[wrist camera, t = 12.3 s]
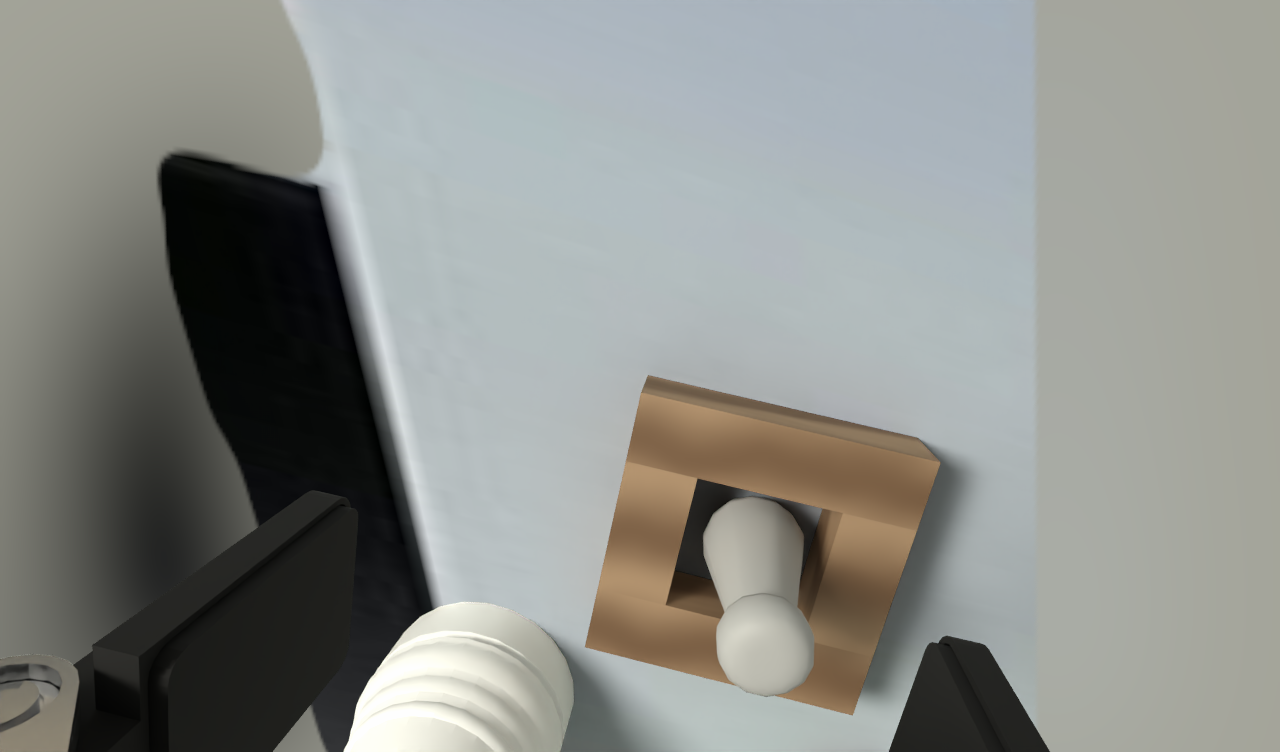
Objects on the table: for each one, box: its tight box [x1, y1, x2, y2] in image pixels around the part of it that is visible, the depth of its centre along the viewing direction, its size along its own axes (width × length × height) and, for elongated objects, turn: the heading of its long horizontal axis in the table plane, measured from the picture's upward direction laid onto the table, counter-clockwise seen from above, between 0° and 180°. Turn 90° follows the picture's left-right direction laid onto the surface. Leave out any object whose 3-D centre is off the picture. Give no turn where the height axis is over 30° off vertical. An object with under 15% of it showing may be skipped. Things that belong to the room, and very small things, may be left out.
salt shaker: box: [703, 496, 814, 697], centre depth 34 cm, size 6×6×13 cm
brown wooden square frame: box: [585, 375, 941, 715], centre depth 39 cm, size 16×16×4 cm
